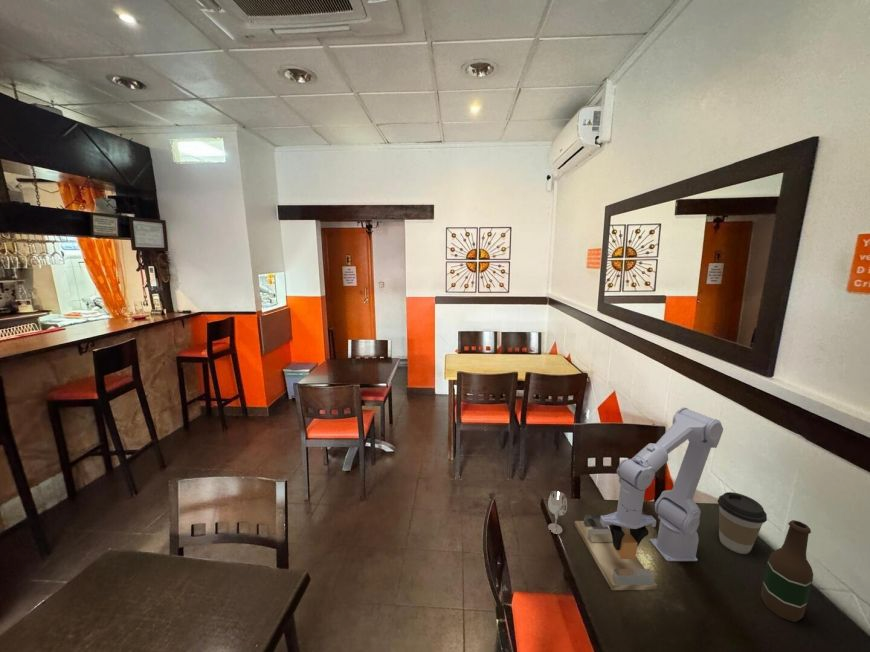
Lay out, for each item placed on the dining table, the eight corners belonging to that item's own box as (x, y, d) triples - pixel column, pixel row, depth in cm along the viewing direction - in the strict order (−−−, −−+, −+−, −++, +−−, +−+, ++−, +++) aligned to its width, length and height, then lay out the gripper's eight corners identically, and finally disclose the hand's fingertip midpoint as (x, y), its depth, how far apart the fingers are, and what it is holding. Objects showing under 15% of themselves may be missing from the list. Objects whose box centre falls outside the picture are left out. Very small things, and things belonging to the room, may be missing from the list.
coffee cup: (726, 527, 113) (734, 486, 111) (768, 554, 103) (778, 510, 100) (702, 535, 110) (709, 493, 107) (743, 564, 99) (752, 518, 96)
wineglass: (561, 522, 114) (565, 490, 112) (566, 536, 108) (570, 502, 106) (544, 521, 114) (547, 489, 112) (548, 534, 108) (551, 501, 106)
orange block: (635, 558, 93) (637, 542, 92) (621, 559, 93) (623, 543, 92) (626, 546, 97) (628, 531, 96) (613, 547, 97) (614, 531, 96)
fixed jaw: (648, 578, 92) (649, 568, 92) (653, 584, 90) (654, 575, 90) (612, 578, 92) (613, 568, 91) (616, 585, 90) (617, 575, 89)
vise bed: (609, 524, 113) (610, 520, 113) (656, 589, 91) (656, 584, 90) (574, 525, 113) (574, 521, 112) (612, 590, 90) (612, 585, 90)
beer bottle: (751, 592, 90) (768, 512, 86) (781, 594, 90) (800, 513, 86) (779, 622, 83) (800, 536, 79) (812, 624, 82) (835, 537, 78)
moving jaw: (609, 522, 112) (609, 515, 111) (623, 542, 104) (624, 534, 103) (579, 522, 112) (579, 515, 111) (590, 542, 104) (591, 534, 103)
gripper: (646, 494, 97) (640, 536, 99) (596, 494, 96) (591, 536, 99) (664, 511, 90) (657, 556, 92) (610, 511, 89) (604, 556, 92)
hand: (624, 547), depth 95 cm, fingers closed on orange block, 4 cm apart
